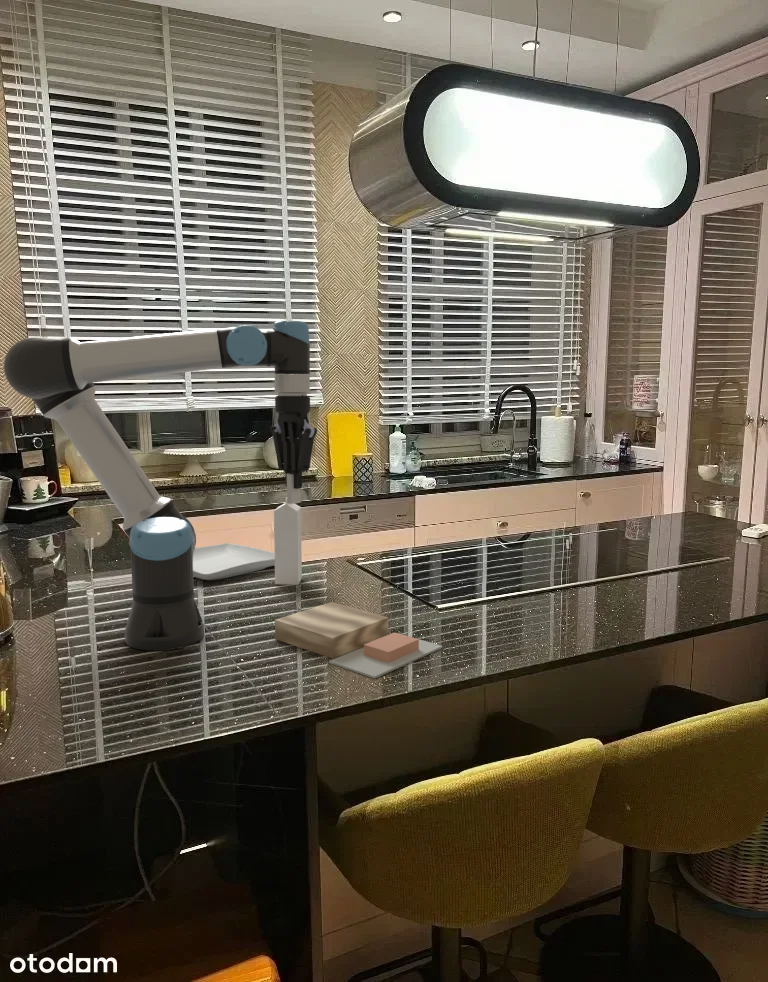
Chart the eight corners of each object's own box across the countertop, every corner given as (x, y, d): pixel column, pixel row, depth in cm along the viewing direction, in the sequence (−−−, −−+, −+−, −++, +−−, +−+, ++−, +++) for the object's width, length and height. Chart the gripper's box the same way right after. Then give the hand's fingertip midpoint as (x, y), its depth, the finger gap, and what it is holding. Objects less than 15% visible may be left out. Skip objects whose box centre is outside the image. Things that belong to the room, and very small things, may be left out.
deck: (332, 658, 139) (332, 637, 139) (275, 639, 150) (274, 619, 149) (388, 636, 151) (388, 617, 151) (331, 620, 162) (331, 602, 161)
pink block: (363, 644, 140) (363, 654, 140) (388, 652, 136) (388, 662, 137) (394, 632, 147) (394, 642, 147) (418, 639, 143) (418, 649, 143)
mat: (374, 678, 130) (374, 676, 130) (329, 663, 137) (329, 660, 137) (442, 647, 145) (442, 645, 145) (398, 635, 152) (398, 633, 152)
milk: (275, 584, 189) (272, 498, 186) (279, 578, 195) (277, 494, 192) (299, 584, 189) (297, 498, 186) (302, 578, 195) (300, 494, 192)
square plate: (289, 568, 207) (288, 554, 207) (205, 588, 187) (205, 573, 186) (229, 552, 225) (228, 540, 225) (147, 569, 205) (146, 555, 204)
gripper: (326, 394, 160) (326, 504, 164) (285, 393, 169) (287, 497, 172) (299, 395, 155) (301, 508, 158) (259, 394, 163) (261, 501, 167)
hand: (294, 502), depth 165 cm, fingers closed
